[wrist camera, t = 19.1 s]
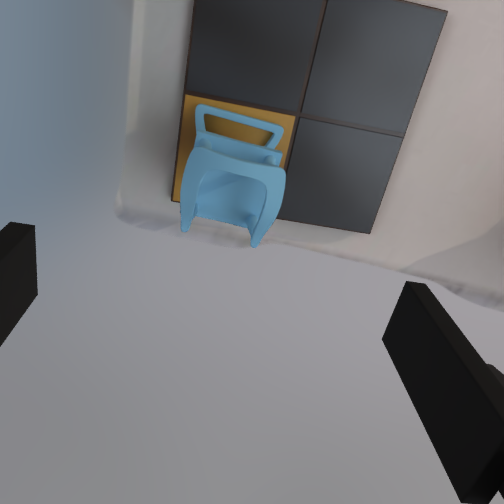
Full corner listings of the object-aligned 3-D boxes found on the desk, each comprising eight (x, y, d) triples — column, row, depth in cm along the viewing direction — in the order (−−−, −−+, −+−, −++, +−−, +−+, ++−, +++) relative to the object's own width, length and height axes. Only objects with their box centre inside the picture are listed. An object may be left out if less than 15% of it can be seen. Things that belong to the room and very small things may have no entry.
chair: (178, 191, 40) (160, 250, 29) (197, 101, 36) (184, 130, 26) (258, 211, 41) (268, 273, 31) (283, 125, 38) (305, 162, 27)
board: (200, -47, 33) (200, -50, 32) (443, 11, 35) (449, 11, 34) (171, 197, 41) (170, 202, 40) (367, 230, 44) (370, 235, 43)
